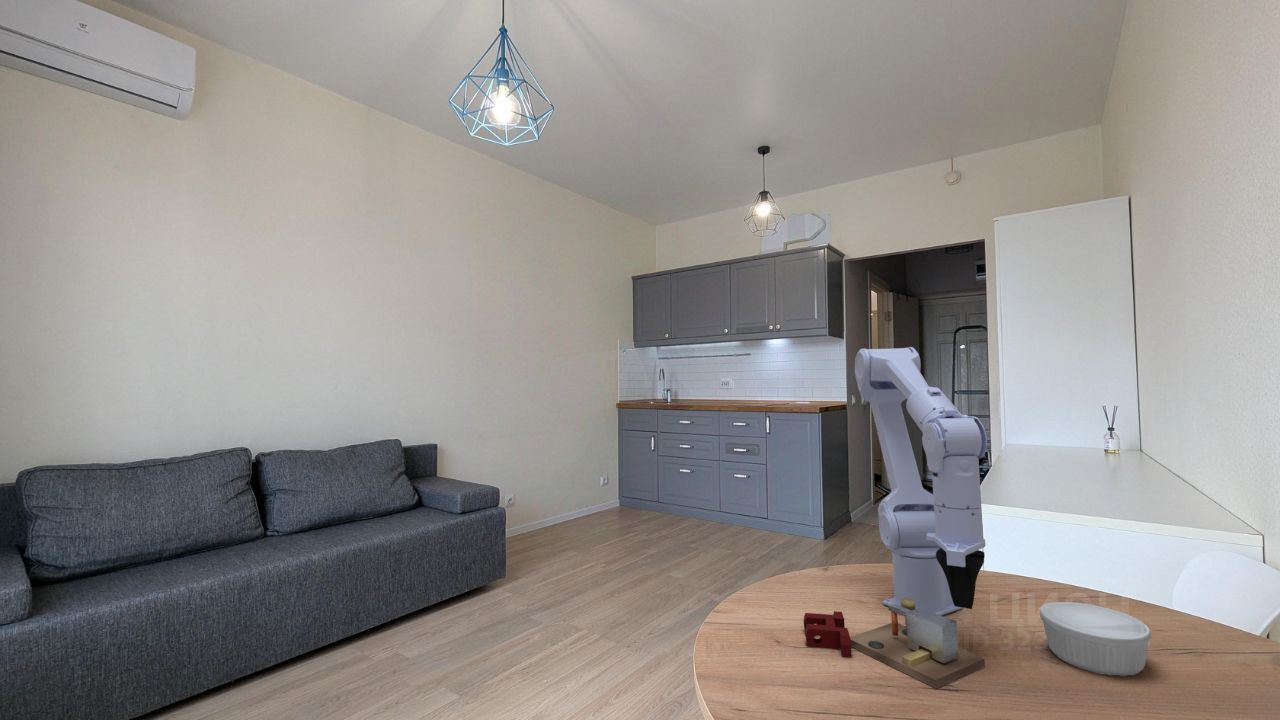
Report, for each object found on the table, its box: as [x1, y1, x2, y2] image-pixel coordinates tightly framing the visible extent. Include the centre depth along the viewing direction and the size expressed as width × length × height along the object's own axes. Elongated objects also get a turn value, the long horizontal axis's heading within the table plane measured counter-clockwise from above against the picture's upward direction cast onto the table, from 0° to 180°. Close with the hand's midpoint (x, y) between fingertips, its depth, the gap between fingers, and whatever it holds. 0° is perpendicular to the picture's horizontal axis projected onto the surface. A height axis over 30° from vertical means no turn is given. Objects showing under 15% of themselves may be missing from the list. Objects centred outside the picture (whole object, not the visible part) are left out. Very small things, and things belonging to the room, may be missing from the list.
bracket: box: [803, 610, 853, 659], centre depth 78 cm, size 3×6×10 cm
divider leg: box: [888, 604, 959, 663], centre depth 73 cm, size 8×3×4 cm, turn 28°
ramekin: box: [1039, 601, 1152, 677], centre depth 71 cm, size 11×11×5 cm
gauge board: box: [850, 598, 986, 690], centre depth 73 cm, size 13×10×6 cm
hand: (963, 606), depth 75 cm, fingers closed
